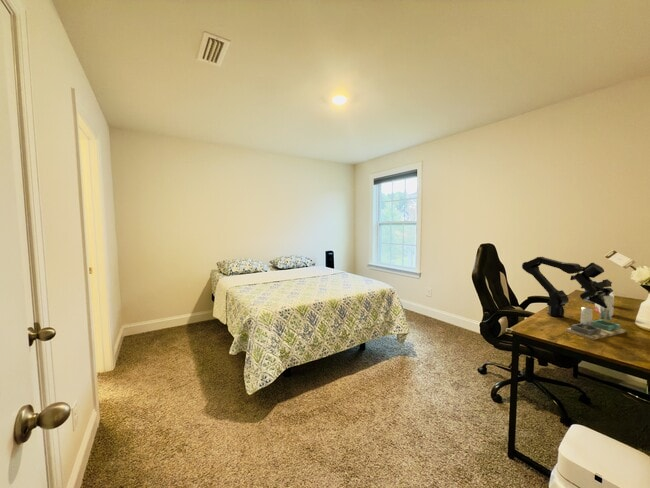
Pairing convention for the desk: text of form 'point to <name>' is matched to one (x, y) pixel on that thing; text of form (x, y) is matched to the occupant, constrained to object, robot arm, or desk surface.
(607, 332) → the pallet
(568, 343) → the desk surface
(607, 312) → the billet
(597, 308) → the ink cartridge box
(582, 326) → the block
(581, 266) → the robot arm
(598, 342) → the desk surface
